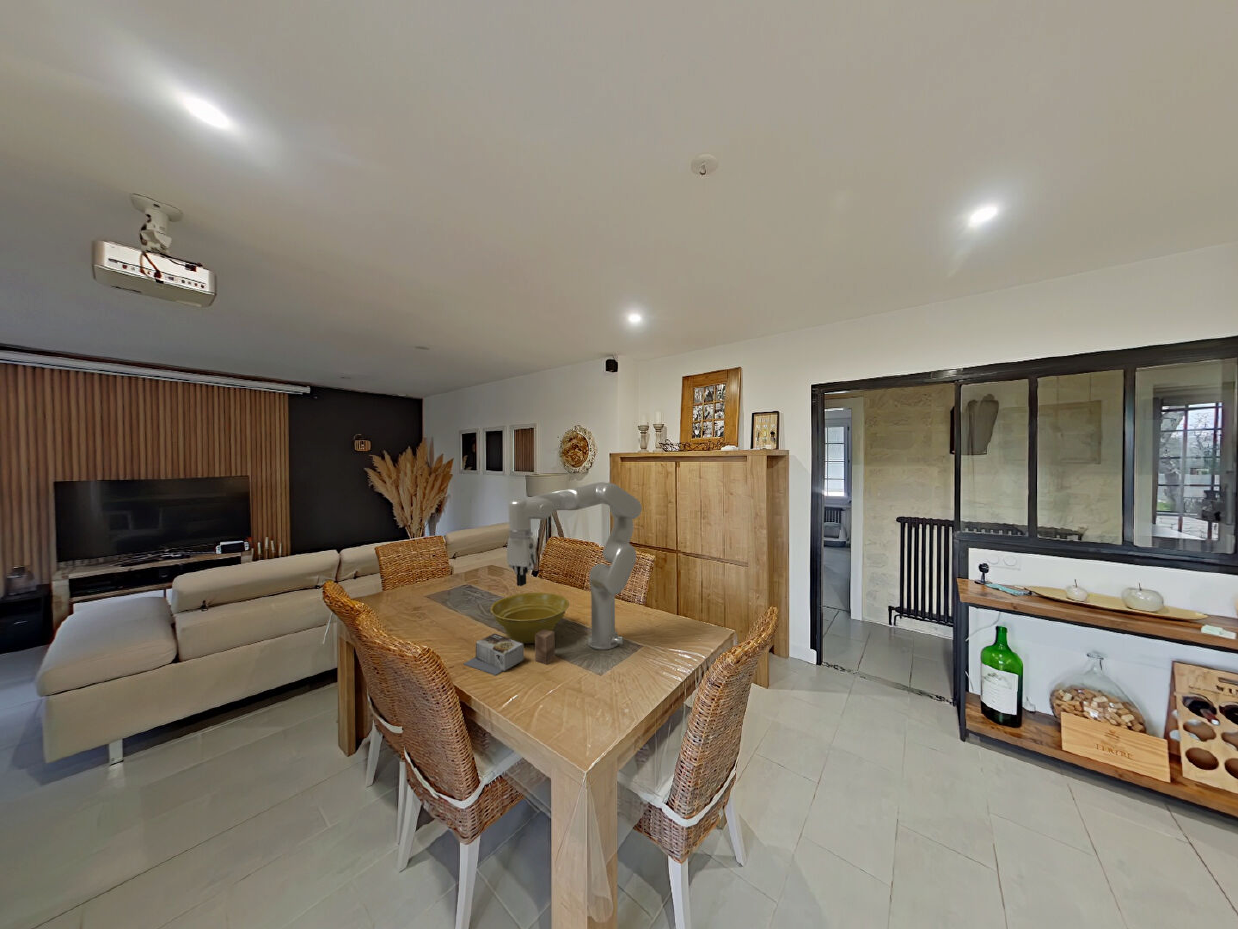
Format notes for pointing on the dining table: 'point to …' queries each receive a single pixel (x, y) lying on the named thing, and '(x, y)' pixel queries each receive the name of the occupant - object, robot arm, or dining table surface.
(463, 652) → the dining table surface
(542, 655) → the walnut block
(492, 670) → the mat
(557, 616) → the planter bowl
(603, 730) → the dining table surface
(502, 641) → the coffee box
